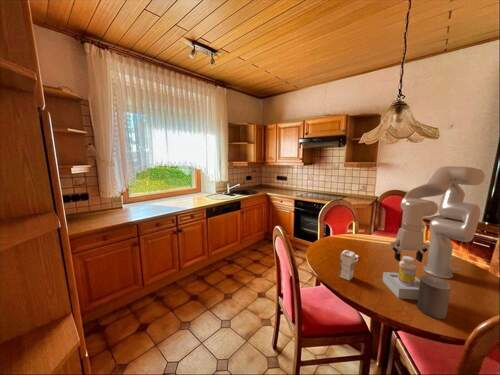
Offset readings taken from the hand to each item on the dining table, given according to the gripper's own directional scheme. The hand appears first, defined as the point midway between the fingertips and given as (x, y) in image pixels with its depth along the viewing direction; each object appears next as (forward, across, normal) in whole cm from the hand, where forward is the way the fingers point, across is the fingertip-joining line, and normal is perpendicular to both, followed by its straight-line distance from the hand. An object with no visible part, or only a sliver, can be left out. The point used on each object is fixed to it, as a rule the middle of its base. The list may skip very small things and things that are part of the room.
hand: (408, 260), depth 100 cm
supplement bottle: (+12, 0, 0) cm, 12 cm away
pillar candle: (+16, -2, +14) cm, 21 cm away
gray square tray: (+16, 0, 0) cm, 16 cm away
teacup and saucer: (+16, +12, -29) cm, 36 cm away
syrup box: (+16, +25, -9) cm, 31 cm away
